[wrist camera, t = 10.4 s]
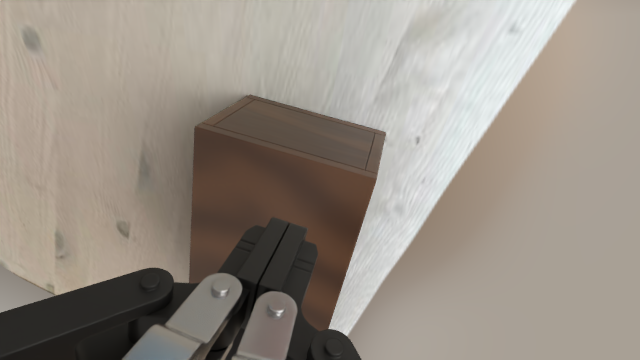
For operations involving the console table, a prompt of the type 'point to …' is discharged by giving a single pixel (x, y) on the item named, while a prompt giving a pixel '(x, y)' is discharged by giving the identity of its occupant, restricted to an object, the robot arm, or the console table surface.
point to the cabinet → (282, 188)
